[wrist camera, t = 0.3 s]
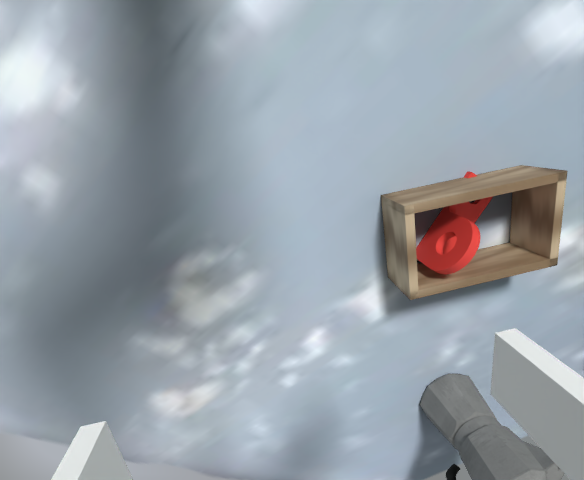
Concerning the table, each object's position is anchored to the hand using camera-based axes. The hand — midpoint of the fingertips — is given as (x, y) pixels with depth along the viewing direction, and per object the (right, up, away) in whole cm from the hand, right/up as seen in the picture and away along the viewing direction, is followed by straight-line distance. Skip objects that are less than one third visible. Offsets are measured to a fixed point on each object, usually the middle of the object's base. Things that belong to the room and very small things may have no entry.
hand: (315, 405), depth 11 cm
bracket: (+19, +8, +30) cm, 37 cm away
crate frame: (+19, +8, +30) cm, 36 cm away
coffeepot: (+23, -19, +40) cm, 50 cm away
